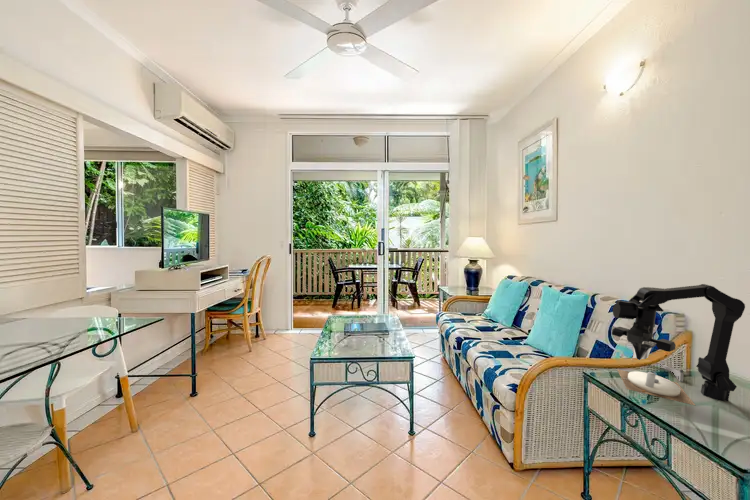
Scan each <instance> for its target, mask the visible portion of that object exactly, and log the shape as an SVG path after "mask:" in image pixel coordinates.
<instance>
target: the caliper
mask: <svg viewBox="0 0 750 500" xmlns="http://www.w3.org/2000/svg"><path fill="white" fill-rule="evenodd" d="M662 369H665V370H666V371H667V370H668V372H670V371H671V372H670V373H672V372H673V373H674V375H675V376H674V375H673V376H674V377H676V379H677V380H678V381H679V382H680V383H683V382H684V376H685V375H684V369H682V368H681V369H680V368H678V369H675V368H672V367H670V366H668V365H667V364H665V365H663V367H662ZM673 373H672V374H673Z"/></svg>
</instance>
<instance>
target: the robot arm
mask: <svg viewBox="0 0 750 500" xmlns="http://www.w3.org/2000/svg"><path fill="white" fill-rule="evenodd" d="M695 298H705V299H706V300H707V301H708V302H710V303H711V310H712V313H713V316H714V323H713V327H712V332H711V337H710V342H709V347H708V352H707V355H706V356H704V357H700V356H699V357H698V359H697V361H698V362H697V365H696V367H697V370H698V373H699V374H700V375H701V379H702V380H704V383H703V384H701V387H700V388H701V389H700V394H702V396H705V397H707V398H708V397H709V399H713V400H717V401H720V402H725V401H726V402H729V398H730V395H731V394H730V393H731V392H734V391H735V390H736V389H737V387H738V386H737V385H736V384H735V383H734V382H733V381H732V380H731V378H730V368H729V365H728V363H727V357H728V352H729V347H730V343H731V338H732V333H733V330H734V325H735V323H736V322H737V321H738V320H739V319H741V317H742V316H743V313H744V311H745V309H746V304H745V303H744V302H743V300H741V299H739V298H735V297H732V296H730V295H729V294H727V293H725V292H722V291H721V290H719V289H717V287H715V286H713V285H709V284H705V283H702V284H697V285H690V286H687V285H686V286H680V287H677V286H676V287H671V288H670V287H669V288H661V287H660V288H659V287H649V286H647V287H645V286H643V287H640V288H639V289H638V290H637V292H636V293H635V294H634V295H633V296H632V297H631V298H630V299H629V300H628V301H627V300H624V301H623V300H619V299H617V300H616V302H615V304H614V305H613V307H612V314H613V317H614V318H616V319H625V320H634V319H635V321H633V323H632V327H631V328H626V327H622V326H617V327H614V328H613V329H612V331H611V335H613V336H615V337H618V338H621V337H622V336H625V337H626V340H627V341H628V342H629V343H630V344H631V345H632V348H633V347H634V349H635V353H636V356H637V359H638V360H641V359H642V357H643V356H644V354H645V353H646V352H647V350H648V349H649V348H651V349H653V348H654V347H656V348H657V349H658V350H661V351H664V352H667V353H670V352H672V351H674V350H676V343H675V341H672V340H668V339H665V338H661V339H655V338H654V328H655V327H656V323H655V321H656V317H657V316H656V315H657V312H661V313H662V312H664V309H663V308H662V307H661V306H660V305H662V304H665V303H667V302H669V301H672V300H673V301H674V300H684V299H695ZM652 337H653V339H652ZM643 342H644V343H643ZM642 343H643V344H642Z"/></svg>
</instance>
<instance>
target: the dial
mask: <svg viewBox="0 0 750 500" xmlns="http://www.w3.org/2000/svg"><path fill="white" fill-rule="evenodd" d="M628 372H629V373H628V380H629V381H630V382H631V383H632V384H633V385H635V386H637V387H639V388H641V389H643V390H646V391H649V392H652V393H655V394H659V395H664V396H678V395H680V391H681V388H682V387H681V386H680V385H679V386H680V387H681V388H680V387H679V386H678V385H677V384H675V383H674V382H675V381H673V380H669V379H667V378H665V377H662V376H660V375H656V373H654V372H651V371H647V372H645V371H628ZM672 381H673V382H672Z"/></svg>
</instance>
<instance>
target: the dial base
mask: <svg viewBox="0 0 750 500" xmlns="http://www.w3.org/2000/svg"><path fill="white" fill-rule="evenodd" d="M629 372H630V371H627V370H622V369H617V373H618V374H619V376H620V378H621V380H622V382H623V384H624V387H625V389H626V390H630V391H633V392H637V393H641V394H642V393H643V394H646V395H651V396H654V397H658V398H662V399H666V400H671V401H674V402H679V403H682V404H683V403H684V404H687V405H691V406H696V404H695V403H694V402H693V400H692V398H690V396H689V395H688V394H687V393H686V392H685V391H684V389H683V388H682V387H681V386H680V384H679V383H678V382H677V381H673V380H671V381H672V382H674V383H675V384H677V385H678V386H679V387H680V388H681V391H680V395H678V396H664V395H659V394H655V393H652V392H649V391H646V390H643V389H641V388H639V387H637V386H635V385H633V384H632V383H631V382H630V381H629V380H628V373H629Z"/></svg>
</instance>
